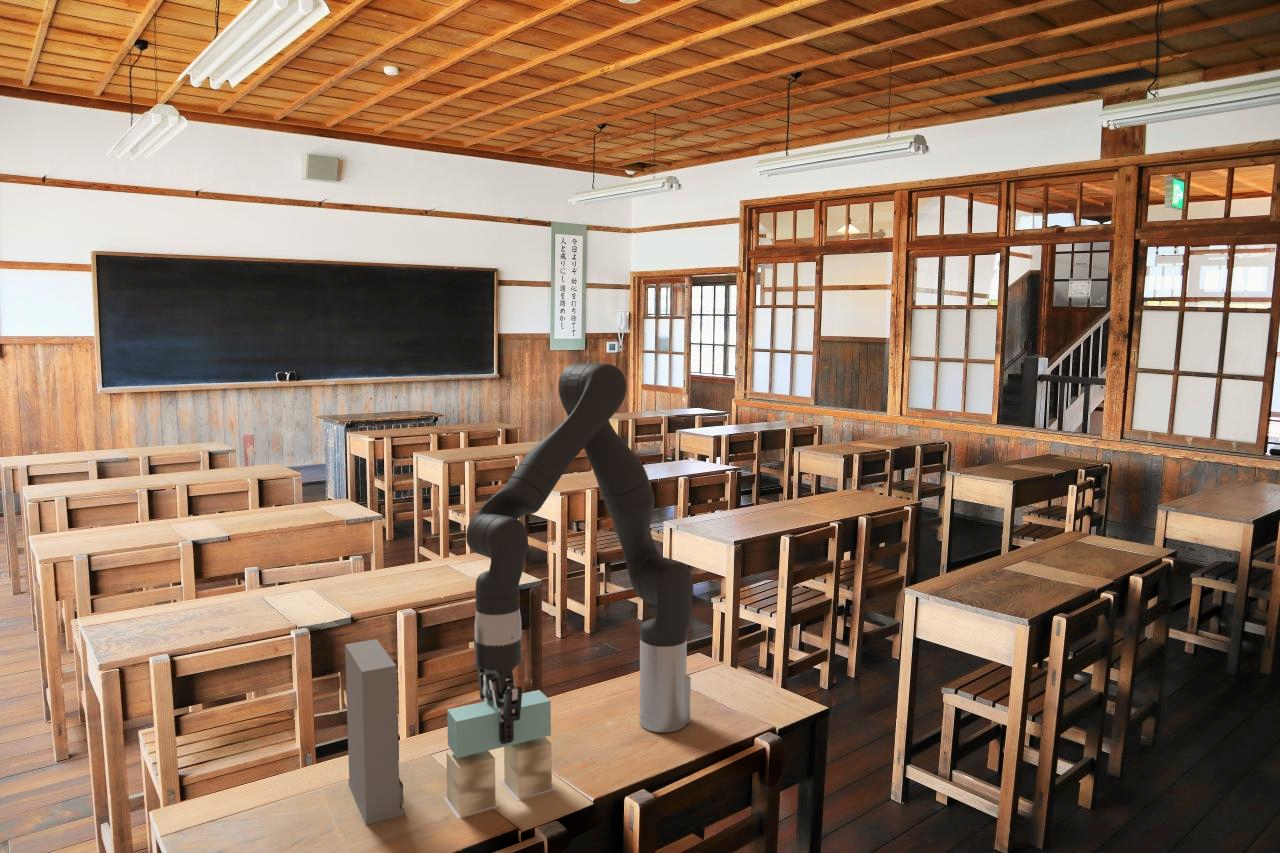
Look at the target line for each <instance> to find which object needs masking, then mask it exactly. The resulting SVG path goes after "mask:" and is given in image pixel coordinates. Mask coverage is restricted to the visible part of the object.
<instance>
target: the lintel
mask: <svg viewBox="0 0 1280 853" xmlns="http://www.w3.org/2000/svg"><path fill="white" fill-rule="evenodd" d="M504 699H505V698H503V699H499V701H500V702H503V701H504ZM551 704H552V702H551V700H550V698H549V697H547V696H546V695H545V694H544V693H543V692H542V691H541V690H540V689H538V690H532V691H527V692H524V693H523V692H522V701H521V712H520V720H516V721H513V727H514V740H513V741H512V742H510V743H507V744H501V743H500V741H499V716H498V709H497V708H495V707H494V703H493V700H490V701H485V702H484V701H480V702H476V703H472V704H467V705H462V706H456V707H453V708H447V709H446V715H447V716H446V717H447V719H446V720H447V721H446V722H447V724H446V725H447V746H448V747H449V749H450V751H452V752H453V753H454V755H455V756H456V758H460V757H464V756H468V755H472V754H476V753H480V752H484V751H489V752H490V751H492V750H497V749H500V748H504V747H505V746H509V745H513V744H518V743H522V742H526V741H530V740H534V739H538V738H542V737H545V738H547V737H551V736H552V723H551V722H552V717H551V716H552V713H551V712H552V710H551V709H552V708H551V706H552V705H551ZM503 711H504V707H503ZM509 713H510V712H509Z"/></svg>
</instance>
